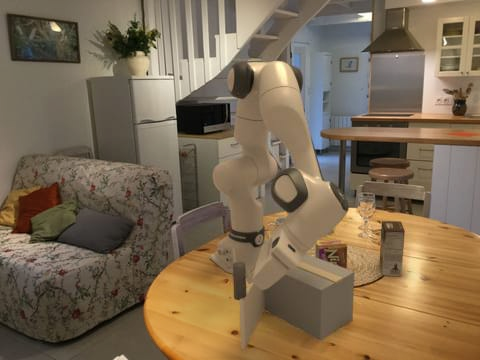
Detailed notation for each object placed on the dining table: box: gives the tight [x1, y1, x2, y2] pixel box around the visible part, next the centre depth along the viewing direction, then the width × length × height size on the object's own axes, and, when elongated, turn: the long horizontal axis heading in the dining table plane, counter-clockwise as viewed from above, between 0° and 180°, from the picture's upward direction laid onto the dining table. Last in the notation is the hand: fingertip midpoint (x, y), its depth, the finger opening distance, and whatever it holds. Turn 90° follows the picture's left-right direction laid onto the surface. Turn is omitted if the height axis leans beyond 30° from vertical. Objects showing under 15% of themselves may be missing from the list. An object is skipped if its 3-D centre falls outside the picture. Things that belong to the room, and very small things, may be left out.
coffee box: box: [379, 220, 406, 277], centre depth 140 cm, size 9×6×16 cm
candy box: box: [314, 240, 348, 269], centre depth 129 cm, size 9×4×15 cm, turn 96°
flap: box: [232, 262, 265, 350], centre depth 109 cm, size 19×3×21 cm, turn 162°
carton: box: [263, 253, 355, 342], centre depth 116 cm, size 20×14×14 cm
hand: (248, 279), depth 99 cm, fingers closed, pressing on flap
